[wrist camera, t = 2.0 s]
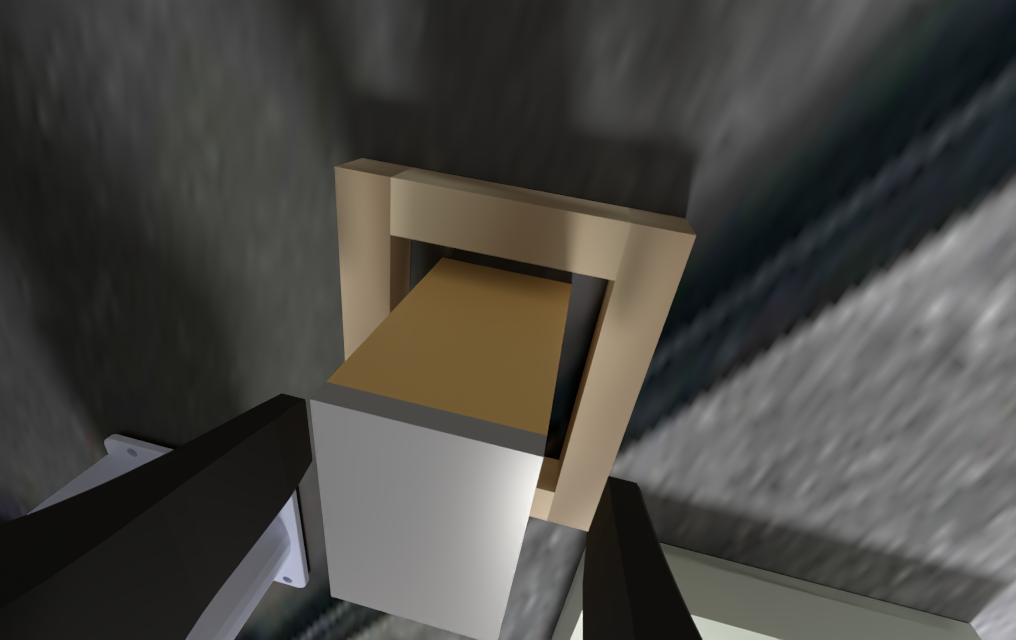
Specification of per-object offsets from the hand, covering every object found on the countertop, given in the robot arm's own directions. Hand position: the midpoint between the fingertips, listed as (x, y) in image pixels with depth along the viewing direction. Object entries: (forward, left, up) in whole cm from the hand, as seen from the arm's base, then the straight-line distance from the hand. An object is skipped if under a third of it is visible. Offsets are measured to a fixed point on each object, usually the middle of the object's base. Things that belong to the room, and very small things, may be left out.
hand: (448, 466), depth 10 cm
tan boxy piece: (0, 0, -5) cm, 5 cm away
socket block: (0, 0, -5) cm, 5 cm away
